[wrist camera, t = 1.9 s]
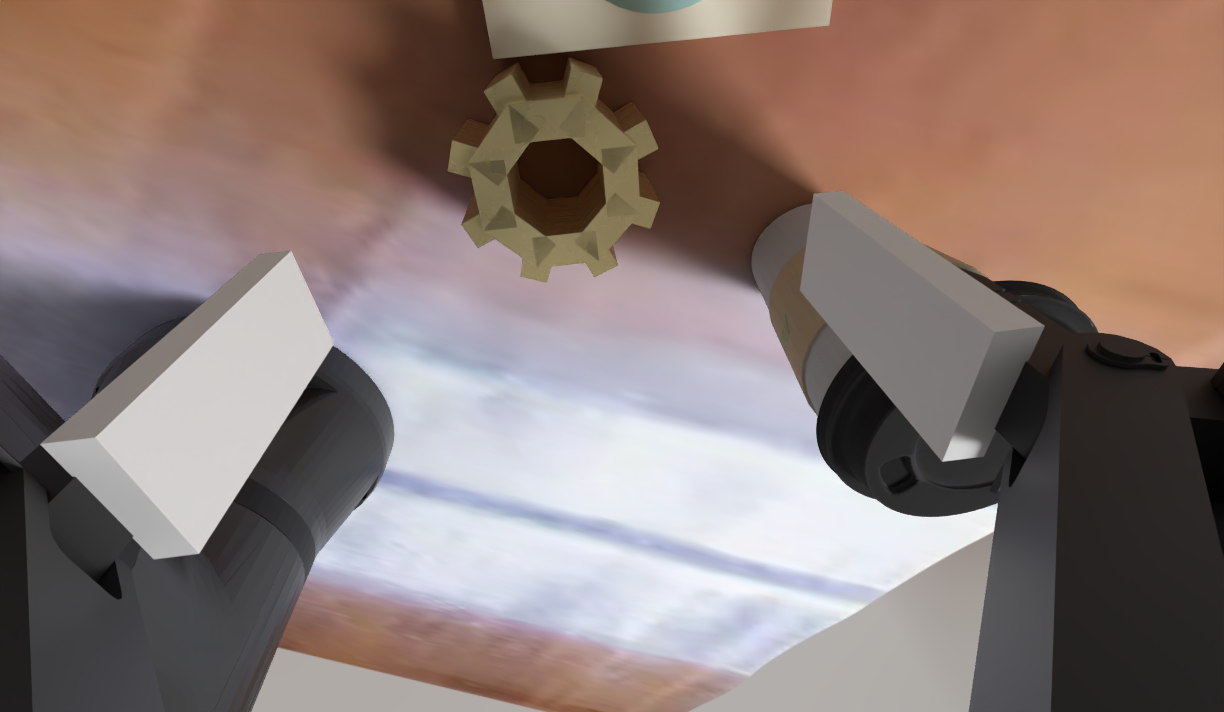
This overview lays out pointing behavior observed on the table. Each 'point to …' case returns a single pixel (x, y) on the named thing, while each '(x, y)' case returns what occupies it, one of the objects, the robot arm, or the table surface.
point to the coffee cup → (877, 389)
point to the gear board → (635, 22)
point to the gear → (566, 222)
